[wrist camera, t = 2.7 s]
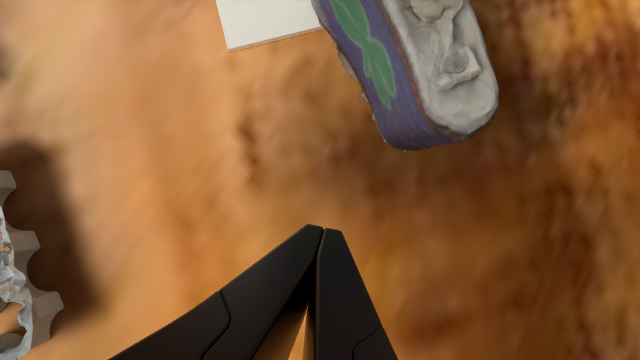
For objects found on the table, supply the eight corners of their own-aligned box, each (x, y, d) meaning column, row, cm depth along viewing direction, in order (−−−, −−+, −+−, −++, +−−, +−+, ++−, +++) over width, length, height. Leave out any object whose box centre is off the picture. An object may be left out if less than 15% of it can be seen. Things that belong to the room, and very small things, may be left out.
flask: (299, -9, 24) (293, -182, 12) (354, -38, 24) (399, -238, 12) (392, 162, 24) (471, 152, 12) (445, 133, 24) (573, 96, 12)
